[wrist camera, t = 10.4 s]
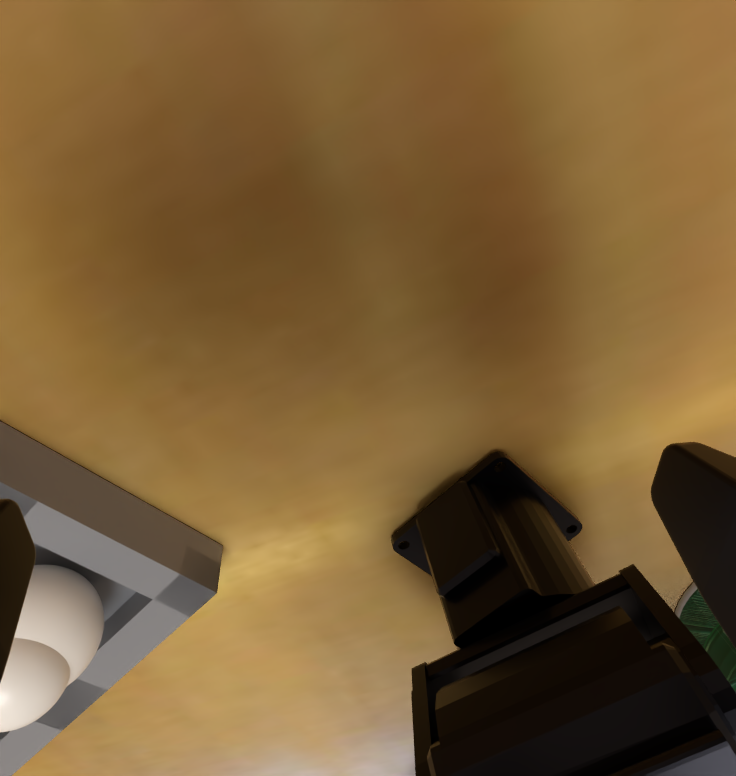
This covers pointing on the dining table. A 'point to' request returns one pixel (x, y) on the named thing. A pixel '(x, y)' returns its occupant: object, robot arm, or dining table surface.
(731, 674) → the canned tomato
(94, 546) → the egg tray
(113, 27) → the dining table surface
